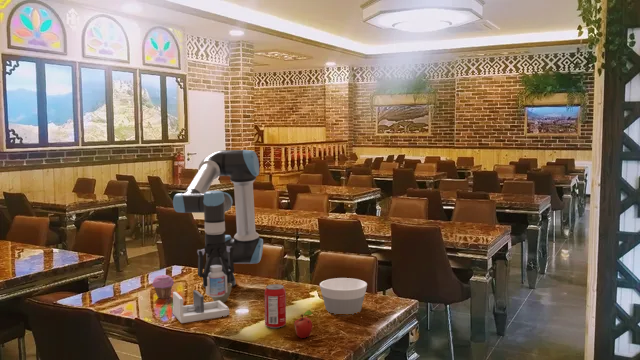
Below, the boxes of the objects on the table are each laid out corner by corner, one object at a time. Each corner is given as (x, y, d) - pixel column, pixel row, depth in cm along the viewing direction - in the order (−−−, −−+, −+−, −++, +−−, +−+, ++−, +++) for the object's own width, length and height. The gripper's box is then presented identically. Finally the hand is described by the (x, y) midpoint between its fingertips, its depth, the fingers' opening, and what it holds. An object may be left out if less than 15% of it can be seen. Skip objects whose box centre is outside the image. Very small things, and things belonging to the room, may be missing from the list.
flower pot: (236, 299, 250) (235, 282, 249) (225, 305, 240) (224, 288, 240) (215, 297, 253) (215, 281, 252) (204, 303, 243) (203, 286, 243)
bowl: (342, 300, 247) (342, 275, 246) (377, 309, 233) (377, 283, 232) (309, 310, 233) (309, 283, 233) (344, 320, 220) (344, 292, 219)
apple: (290, 339, 200) (289, 311, 199) (297, 333, 206) (297, 305, 206) (310, 342, 197) (310, 313, 196) (318, 335, 204) (317, 307, 203)
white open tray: (219, 306, 239) (218, 285, 238) (229, 315, 227) (229, 293, 226) (172, 313, 230) (172, 291, 229) (181, 323, 218) (180, 299, 217)
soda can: (268, 330, 209) (268, 290, 208) (262, 324, 216) (261, 285, 215) (289, 327, 212) (288, 287, 211) (281, 321, 219) (281, 282, 218)
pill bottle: (221, 298, 214) (220, 268, 213) (206, 297, 215) (205, 267, 214) (227, 293, 220) (226, 264, 219) (212, 292, 221) (211, 263, 220)
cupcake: (161, 301, 247) (160, 278, 246) (148, 298, 252) (148, 275, 251) (178, 296, 254) (177, 274, 253) (165, 293, 259) (164, 271, 259)
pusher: (196, 309, 233) (196, 289, 232) (204, 316, 224) (203, 296, 223) (184, 311, 231) (183, 291, 230) (191, 318, 221) (190, 298, 221)
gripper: (235, 228, 223) (237, 286, 225) (187, 233, 214) (189, 294, 217) (242, 231, 216) (244, 291, 219) (192, 236, 208) (194, 299, 210)
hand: (216, 292), depth 218 cm, fingers closed on pill bottle, 6 cm apart
